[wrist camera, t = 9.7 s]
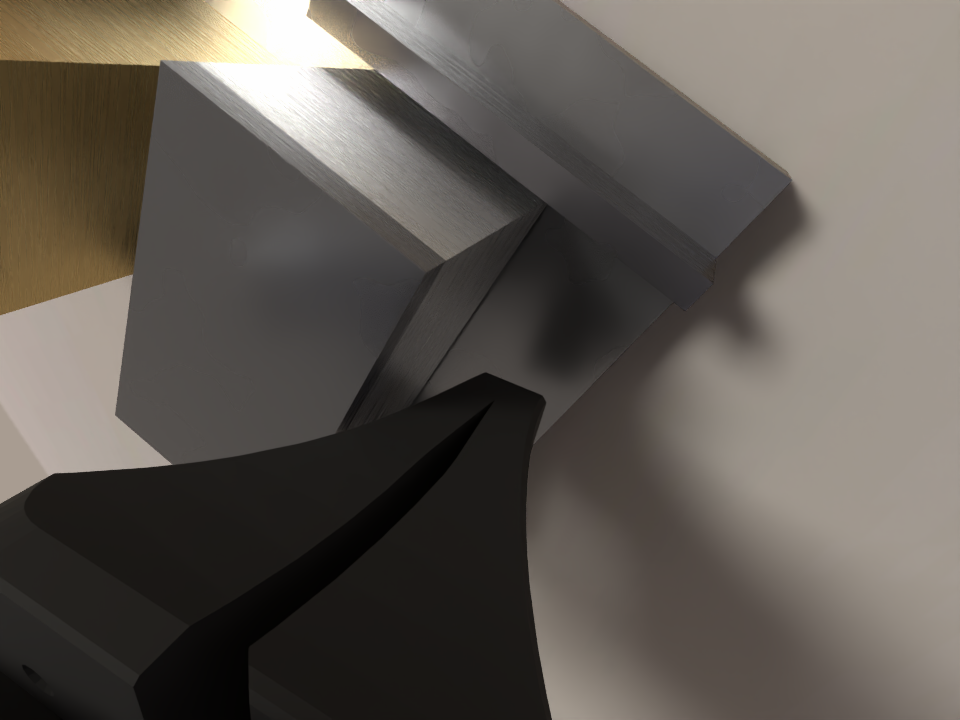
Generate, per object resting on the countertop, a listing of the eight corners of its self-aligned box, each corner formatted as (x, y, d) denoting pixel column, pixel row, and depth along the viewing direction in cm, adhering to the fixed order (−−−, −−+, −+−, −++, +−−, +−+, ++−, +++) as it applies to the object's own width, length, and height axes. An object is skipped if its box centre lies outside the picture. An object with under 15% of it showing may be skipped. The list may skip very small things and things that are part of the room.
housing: (293, 70, 11) (-68, 57, 6) (245, 238, 14) (-33, 325, 9) (134, -54, 11) (-335, -164, 6) (118, 135, 14) (-222, 162, 9)
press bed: (787, 172, 9) (844, 270, 4) (465, 506, 16) (346, 689, 11) (-41, -450, 10) (-756, -942, 5) (-5, 117, 17) (-299, 129, 12)
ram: (551, 198, 10) (426, 272, 6) (401, 418, 14) (269, 547, 10) (386, 70, 10) (160, 60, 6) (288, 324, 14) (115, 414, 10)
